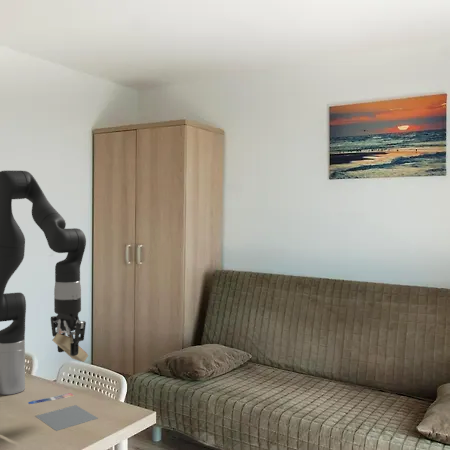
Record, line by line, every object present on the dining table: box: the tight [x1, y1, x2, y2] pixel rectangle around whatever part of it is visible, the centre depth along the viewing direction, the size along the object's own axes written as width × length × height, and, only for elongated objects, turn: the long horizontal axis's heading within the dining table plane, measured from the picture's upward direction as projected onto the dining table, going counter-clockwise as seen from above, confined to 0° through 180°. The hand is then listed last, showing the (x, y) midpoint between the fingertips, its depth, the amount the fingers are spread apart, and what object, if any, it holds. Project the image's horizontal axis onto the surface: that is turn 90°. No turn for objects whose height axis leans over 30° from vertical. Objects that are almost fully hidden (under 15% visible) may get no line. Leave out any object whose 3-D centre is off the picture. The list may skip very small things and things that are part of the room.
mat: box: [35, 404, 99, 432], centre depth 154 cm, size 14×13×1 cm
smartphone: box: [27, 392, 75, 405], centre depth 167 cm, size 7×1×15 cm
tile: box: [52, 334, 89, 363], centre depth 154 cm, size 6×2×10 cm
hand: (67, 353), depth 154 cm, fingers closed on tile, 5 cm apart
